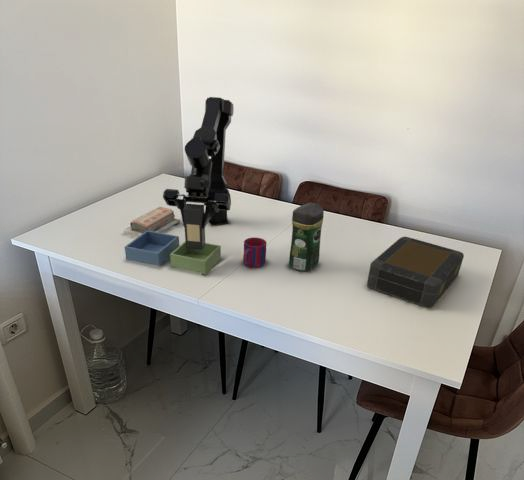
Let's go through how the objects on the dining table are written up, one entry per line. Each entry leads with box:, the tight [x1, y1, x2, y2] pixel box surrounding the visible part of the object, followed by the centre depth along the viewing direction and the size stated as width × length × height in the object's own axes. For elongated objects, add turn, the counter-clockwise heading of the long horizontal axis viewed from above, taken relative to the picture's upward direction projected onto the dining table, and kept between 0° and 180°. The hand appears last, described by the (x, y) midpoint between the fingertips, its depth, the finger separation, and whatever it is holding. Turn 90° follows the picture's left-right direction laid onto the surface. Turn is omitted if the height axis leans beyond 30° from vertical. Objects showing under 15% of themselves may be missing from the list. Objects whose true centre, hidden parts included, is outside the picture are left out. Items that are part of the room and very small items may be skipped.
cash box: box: [366, 236, 465, 308], centre depth 143 cm, size 25×20×8 cm
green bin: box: [169, 241, 222, 276], centre depth 148 cm, size 11×11×5 cm
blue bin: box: [124, 230, 180, 267], centre depth 152 cm, size 13×11×5 cm
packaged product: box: [123, 206, 181, 238], centre depth 167 cm, size 18×5×10 cm
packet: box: [183, 203, 206, 250], centre depth 142 cm, size 4×5×12 cm
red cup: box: [242, 236, 267, 269], centre depth 148 cm, size 7×10×7 cm
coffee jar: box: [288, 202, 325, 272], centre depth 146 cm, size 10×8×19 cm
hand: (193, 227), depth 141 cm, fingers closed on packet, 5 cm apart
